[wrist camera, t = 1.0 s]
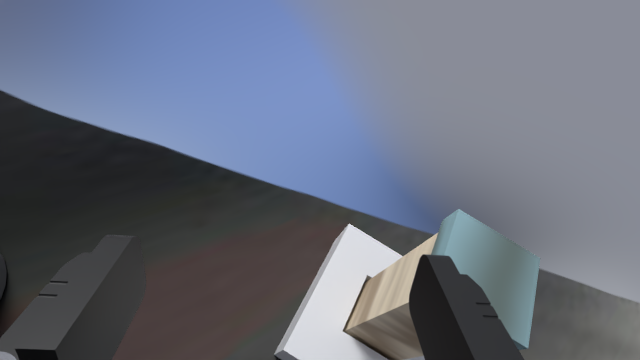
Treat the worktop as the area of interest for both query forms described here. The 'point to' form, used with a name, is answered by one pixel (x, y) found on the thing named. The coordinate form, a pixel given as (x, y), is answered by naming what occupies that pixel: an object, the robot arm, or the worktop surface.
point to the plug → (470, 258)
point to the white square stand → (336, 301)
